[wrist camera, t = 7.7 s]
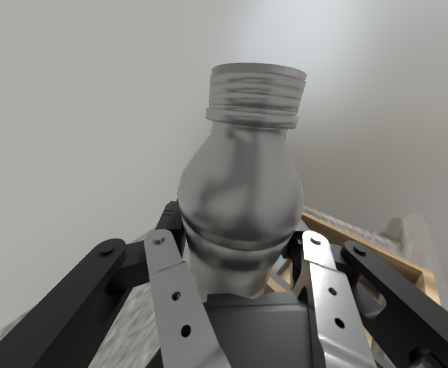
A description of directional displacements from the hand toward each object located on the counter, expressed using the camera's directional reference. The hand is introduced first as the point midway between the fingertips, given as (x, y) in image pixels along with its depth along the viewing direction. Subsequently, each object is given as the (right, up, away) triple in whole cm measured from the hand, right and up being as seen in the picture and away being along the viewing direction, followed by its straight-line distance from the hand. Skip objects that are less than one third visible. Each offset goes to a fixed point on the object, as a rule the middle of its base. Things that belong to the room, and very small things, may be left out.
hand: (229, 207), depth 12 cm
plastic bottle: (-1, -12, +3) cm, 12 cm away
